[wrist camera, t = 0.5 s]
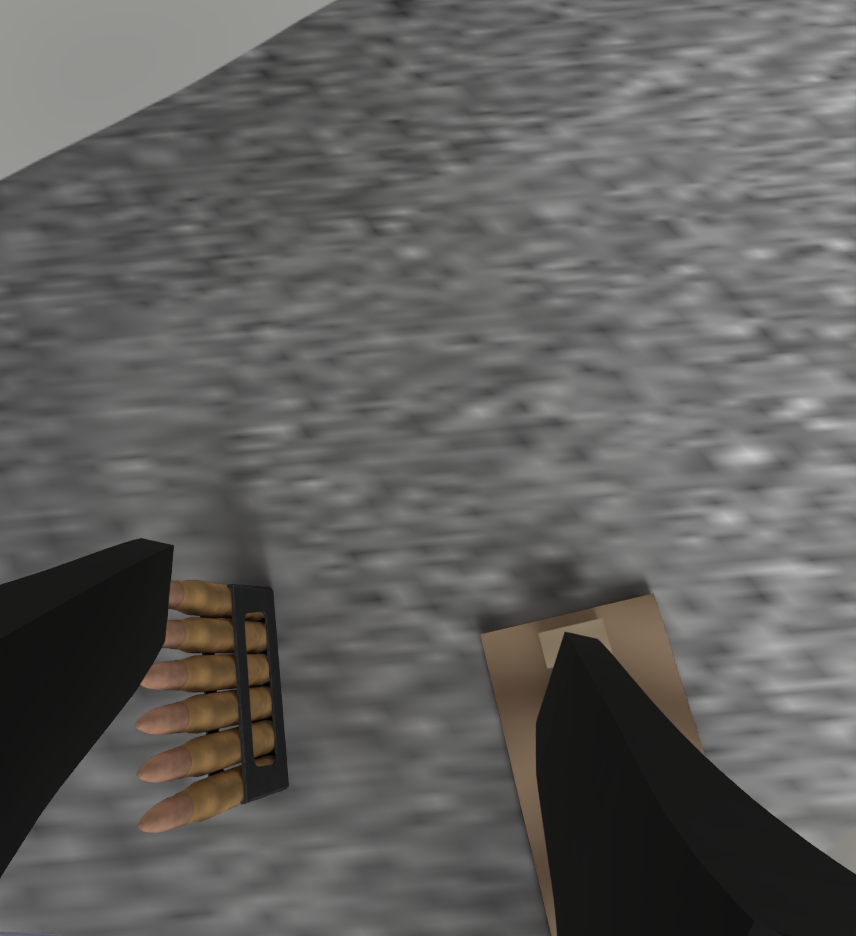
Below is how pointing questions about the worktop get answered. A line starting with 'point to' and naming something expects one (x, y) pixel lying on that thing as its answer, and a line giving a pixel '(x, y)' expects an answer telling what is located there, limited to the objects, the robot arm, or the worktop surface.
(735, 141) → the worktop surface
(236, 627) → the ammunition clip
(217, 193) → the worktop surface
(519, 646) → the rail board
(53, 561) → the worktop surface
